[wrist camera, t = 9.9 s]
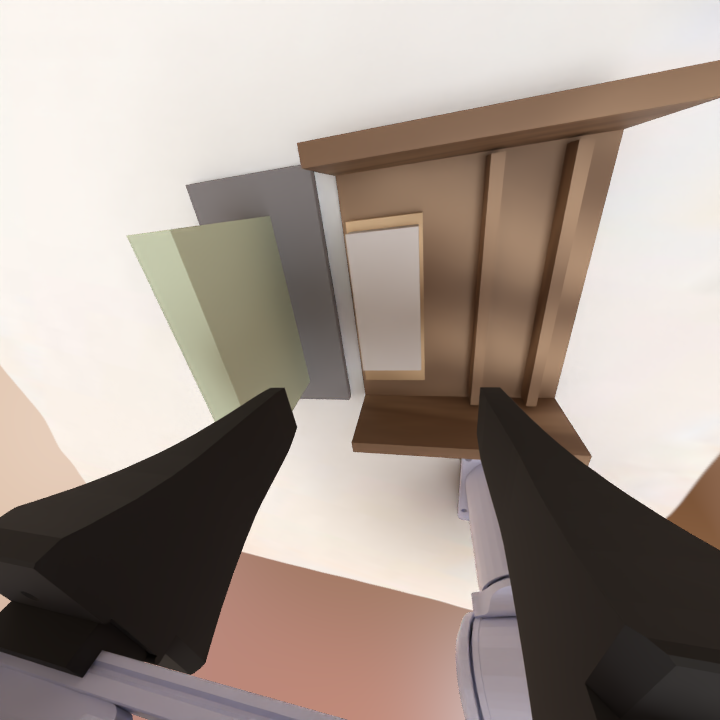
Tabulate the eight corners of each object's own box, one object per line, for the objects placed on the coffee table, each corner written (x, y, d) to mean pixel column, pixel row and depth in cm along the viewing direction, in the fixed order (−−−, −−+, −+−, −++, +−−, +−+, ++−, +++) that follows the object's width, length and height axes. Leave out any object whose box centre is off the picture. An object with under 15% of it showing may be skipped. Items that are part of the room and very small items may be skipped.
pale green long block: (310, 381, 23) (262, 459, 16) (287, 381, 23) (232, 457, 17) (269, 215, 17) (169, 229, 10) (240, 219, 18) (126, 235, 11)
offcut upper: (421, 360, 18) (421, 370, 17) (366, 361, 19) (363, 370, 18) (418, 224, 14) (418, 226, 13) (350, 232, 15) (345, 234, 14)
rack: (546, 398, 20) (587, 466, 15) (368, 395, 23) (353, 451, 18) (616, 110, 13) (745, 55, 8) (338, 159, 16) (297, 142, 11)
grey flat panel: (350, 395, 24) (349, 399, 23) (264, 393, 25) (261, 397, 25) (312, 164, 16) (308, 163, 15) (192, 185, 18) (185, 185, 17)
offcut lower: (424, 370, 20) (424, 380, 19) (368, 370, 21) (366, 379, 20) (422, 211, 15) (422, 212, 14) (350, 220, 16) (345, 222, 15)
